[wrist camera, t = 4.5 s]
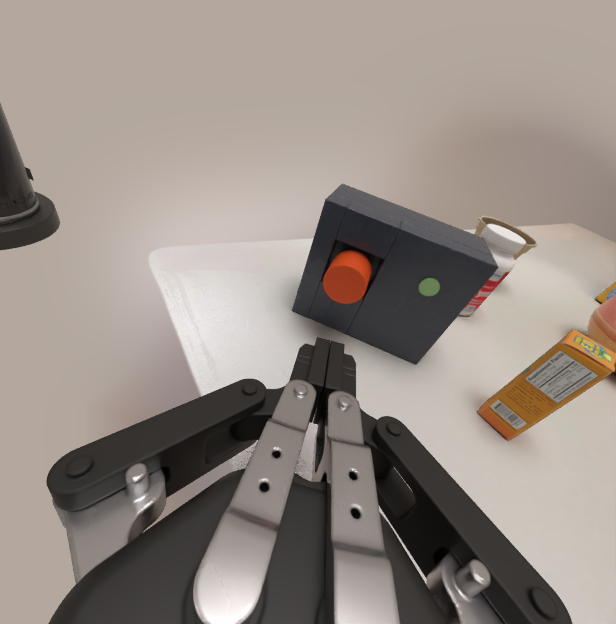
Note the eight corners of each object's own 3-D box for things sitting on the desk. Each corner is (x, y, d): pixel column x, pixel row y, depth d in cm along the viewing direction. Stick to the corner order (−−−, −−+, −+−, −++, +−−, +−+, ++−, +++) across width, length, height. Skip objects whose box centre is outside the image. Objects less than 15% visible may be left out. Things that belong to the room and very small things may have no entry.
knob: (317, 293, 24) (330, 258, 21) (326, 277, 26) (339, 243, 24) (356, 310, 23) (373, 276, 21) (362, 291, 26) (378, 259, 23)
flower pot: (510, 291, 48) (551, 248, 42) (471, 288, 45) (510, 241, 39) (475, 261, 54) (507, 220, 49) (439, 256, 51) (468, 212, 46)
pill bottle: (448, 317, 36) (509, 243, 29) (422, 288, 40) (470, 217, 33) (480, 317, 38) (544, 248, 31) (453, 289, 43) (504, 223, 36)
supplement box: (486, 395, 27) (575, 325, 21) (520, 424, 26) (627, 358, 19) (472, 410, 25) (565, 338, 19) (507, 442, 24) (622, 377, 17)
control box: (290, 312, 29) (324, 199, 21) (309, 283, 34) (342, 183, 26) (416, 366, 28) (500, 269, 20) (416, 328, 32) (484, 238, 25)
